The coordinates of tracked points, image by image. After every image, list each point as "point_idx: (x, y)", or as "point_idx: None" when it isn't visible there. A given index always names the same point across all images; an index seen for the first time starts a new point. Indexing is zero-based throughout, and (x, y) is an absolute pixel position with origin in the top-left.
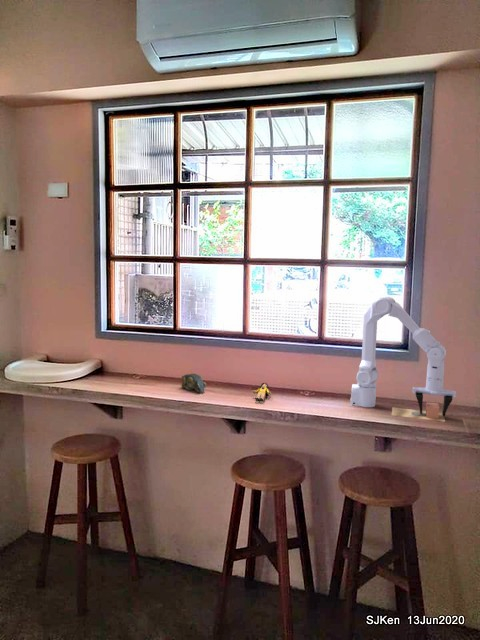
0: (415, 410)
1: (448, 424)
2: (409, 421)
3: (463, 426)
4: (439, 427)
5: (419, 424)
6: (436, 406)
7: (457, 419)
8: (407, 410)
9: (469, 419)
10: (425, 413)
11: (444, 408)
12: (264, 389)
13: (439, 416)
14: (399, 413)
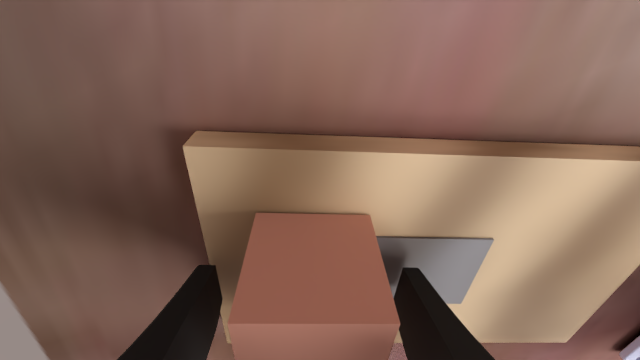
0: None
1: (167, 162)
2: (545, 115)
3: (24, 153)
4: (248, 3)
5: (473, 40)
6: (268, 356)
7: (129, 299)
8: (481, 320)
9: (57, 321)
10: None
11: (168, 341)
12: None
13: None
14: (599, 239)
